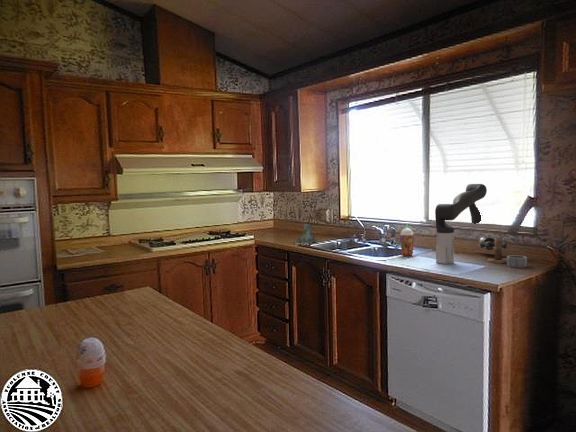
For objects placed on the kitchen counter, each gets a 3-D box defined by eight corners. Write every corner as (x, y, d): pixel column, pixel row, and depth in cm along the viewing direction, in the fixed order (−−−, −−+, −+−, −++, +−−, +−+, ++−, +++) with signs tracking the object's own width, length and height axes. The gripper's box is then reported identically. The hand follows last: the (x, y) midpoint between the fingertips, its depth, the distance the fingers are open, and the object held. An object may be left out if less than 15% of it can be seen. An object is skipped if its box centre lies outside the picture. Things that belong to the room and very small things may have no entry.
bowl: (521, 268, 225) (521, 258, 225) (504, 266, 232) (504, 256, 232) (529, 265, 230) (529, 256, 230) (512, 263, 238) (512, 254, 237)
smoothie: (397, 255, 276) (397, 223, 275) (408, 253, 279) (408, 222, 277) (405, 257, 268) (405, 224, 267) (416, 255, 271) (416, 223, 270)
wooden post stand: (503, 264, 237) (503, 239, 236) (483, 261, 246) (483, 238, 245) (512, 261, 244) (512, 237, 243) (493, 259, 253) (493, 236, 252)
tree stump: (286, 244, 345) (290, 221, 347) (306, 247, 356) (309, 225, 358) (300, 245, 330) (303, 221, 332) (320, 248, 341) (323, 226, 343)
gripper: (475, 236, 263) (483, 240, 247) (499, 236, 261) (510, 240, 245) (475, 249, 264) (483, 253, 248) (499, 248, 262) (510, 253, 246)
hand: (496, 246), depth 247 cm, fingers open, 8 cm apart
